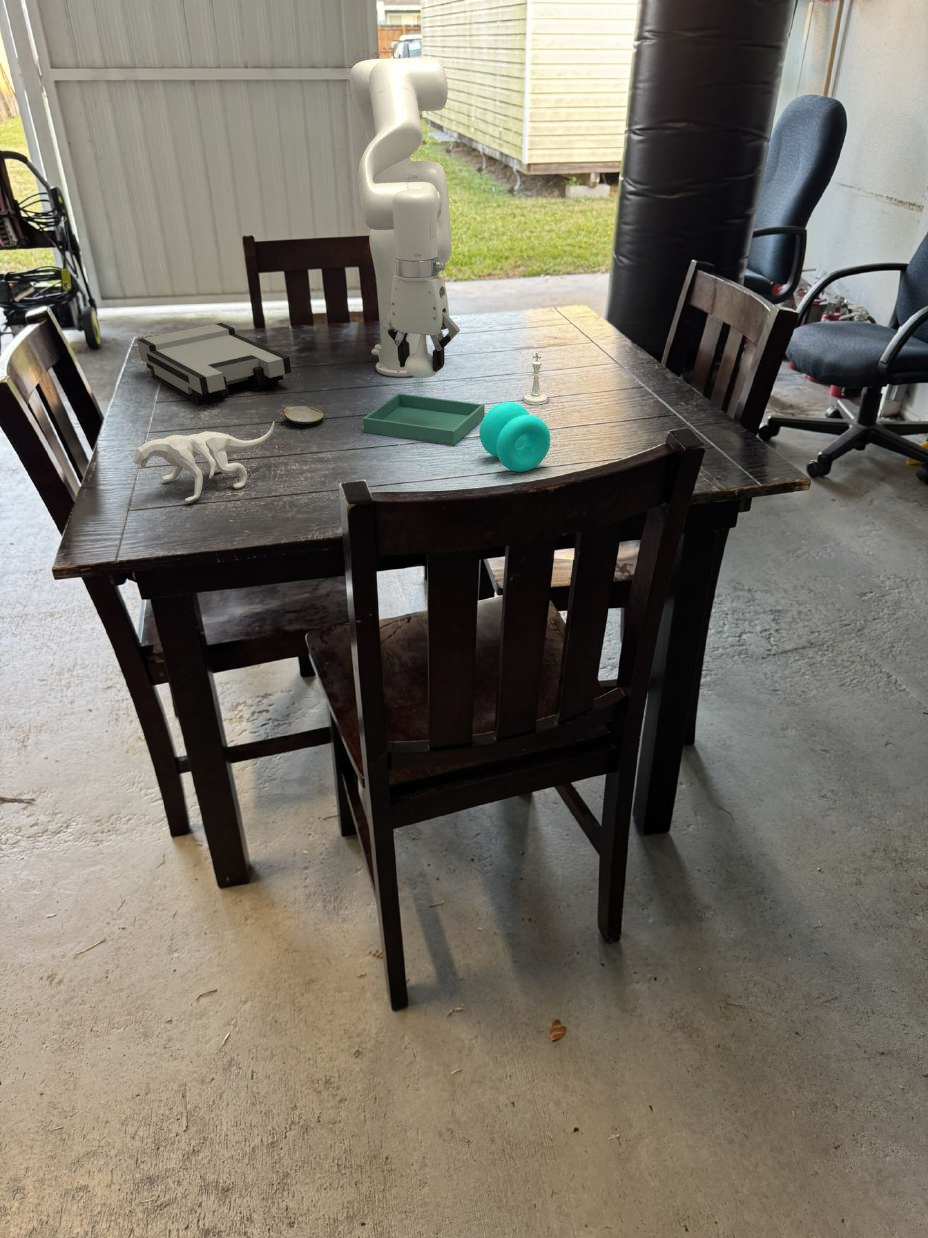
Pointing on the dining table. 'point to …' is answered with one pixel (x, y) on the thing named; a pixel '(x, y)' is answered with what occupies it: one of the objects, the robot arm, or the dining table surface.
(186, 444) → the white animal figurine
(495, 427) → the turquoise yo-yo
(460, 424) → the tray
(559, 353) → the dining table surface
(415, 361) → the garlic bulb
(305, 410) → the seashell
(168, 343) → the game console
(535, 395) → the chess piece
